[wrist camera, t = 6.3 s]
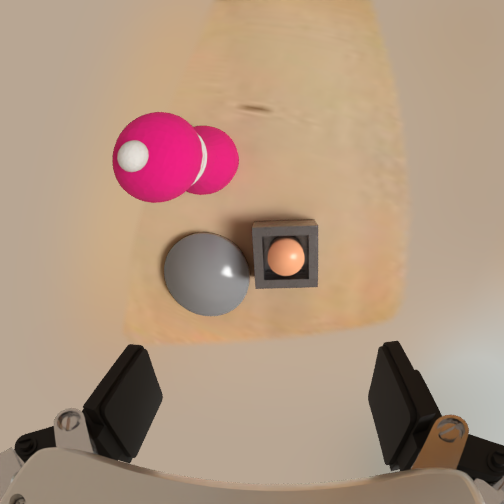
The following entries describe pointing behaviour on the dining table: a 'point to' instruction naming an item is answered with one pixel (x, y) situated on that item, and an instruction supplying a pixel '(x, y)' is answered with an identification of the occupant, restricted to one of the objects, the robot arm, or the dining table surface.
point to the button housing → (261, 241)
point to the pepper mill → (172, 158)
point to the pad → (207, 274)
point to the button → (285, 255)
